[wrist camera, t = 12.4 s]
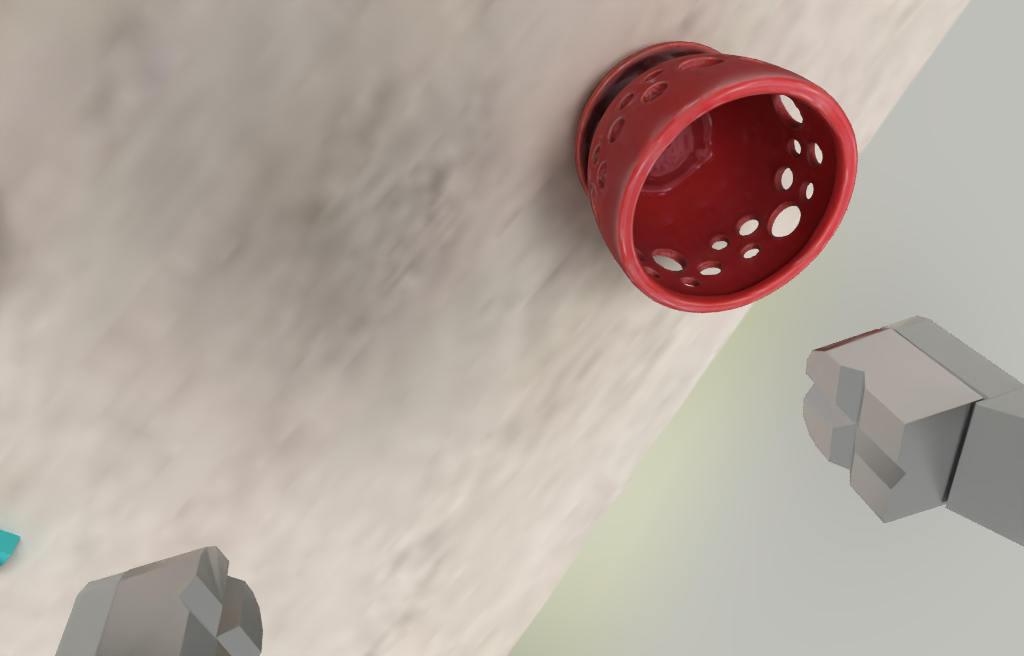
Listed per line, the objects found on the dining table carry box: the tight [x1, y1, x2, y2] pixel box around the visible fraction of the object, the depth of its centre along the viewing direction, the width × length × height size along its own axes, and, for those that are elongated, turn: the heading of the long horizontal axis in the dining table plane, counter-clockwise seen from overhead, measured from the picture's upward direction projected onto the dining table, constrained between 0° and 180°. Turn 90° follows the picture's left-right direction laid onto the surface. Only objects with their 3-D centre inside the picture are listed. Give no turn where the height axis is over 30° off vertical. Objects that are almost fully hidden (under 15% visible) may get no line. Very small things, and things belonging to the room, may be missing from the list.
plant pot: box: [575, 41, 858, 313], centre depth 38 cm, size 13×13×12 cm
